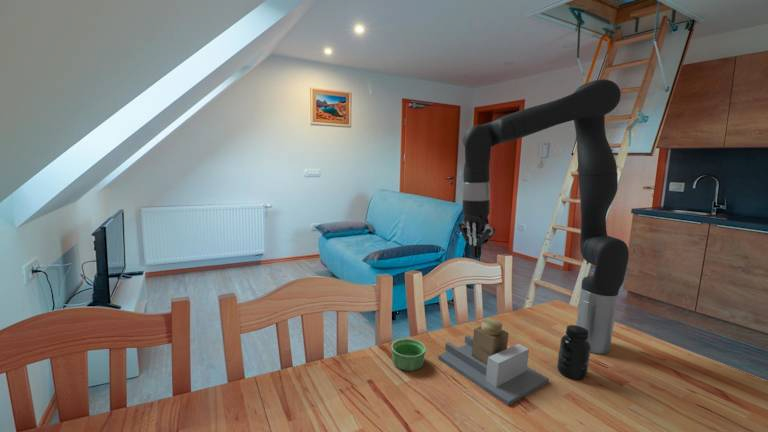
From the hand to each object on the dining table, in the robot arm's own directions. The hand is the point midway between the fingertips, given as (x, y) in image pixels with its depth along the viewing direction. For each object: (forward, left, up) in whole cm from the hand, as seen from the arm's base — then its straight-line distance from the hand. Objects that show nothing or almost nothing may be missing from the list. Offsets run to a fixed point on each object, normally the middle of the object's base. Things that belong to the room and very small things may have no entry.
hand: (475, 257), depth 105 cm
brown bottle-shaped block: (+8, +14, -24) cm, 29 cm away
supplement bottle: (-9, +27, -25) cm, 38 cm away
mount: (+8, +14, -25) cm, 30 cm away
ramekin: (+24, +1, -25) cm, 35 cm away
